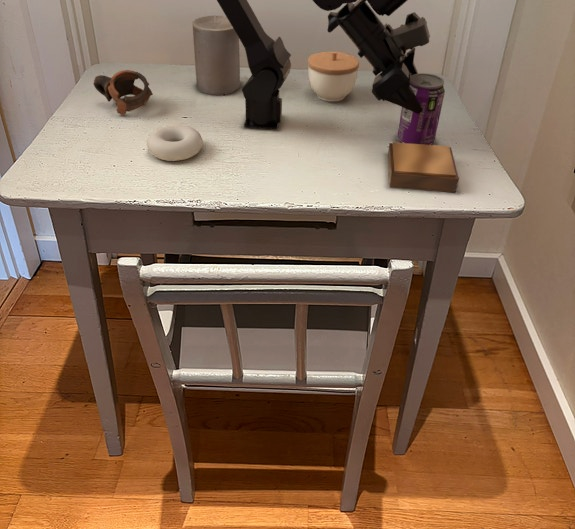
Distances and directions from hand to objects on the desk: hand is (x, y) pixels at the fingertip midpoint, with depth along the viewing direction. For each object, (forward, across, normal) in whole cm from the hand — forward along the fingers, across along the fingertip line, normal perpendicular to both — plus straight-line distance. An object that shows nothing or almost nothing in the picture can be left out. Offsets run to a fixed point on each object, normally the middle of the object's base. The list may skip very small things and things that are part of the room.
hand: (421, 101), depth 103 cm
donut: (-24, -16, +36) cm, 46 cm away
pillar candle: (-26, +14, +37) cm, 47 cm away
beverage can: (+6, 0, +6) cm, 8 cm away
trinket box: (-8, +16, +19) cm, 26 cm away
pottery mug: (-36, -1, +47) cm, 60 cm away
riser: (+7, -12, +4) cm, 14 cm away
